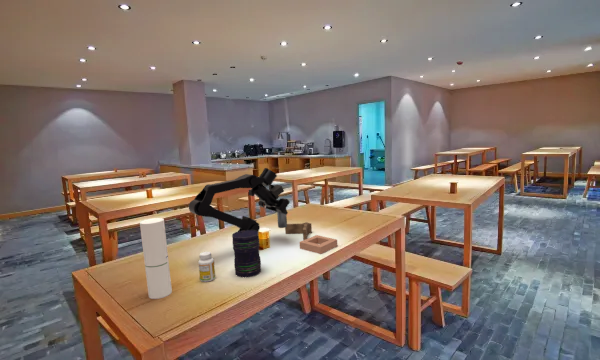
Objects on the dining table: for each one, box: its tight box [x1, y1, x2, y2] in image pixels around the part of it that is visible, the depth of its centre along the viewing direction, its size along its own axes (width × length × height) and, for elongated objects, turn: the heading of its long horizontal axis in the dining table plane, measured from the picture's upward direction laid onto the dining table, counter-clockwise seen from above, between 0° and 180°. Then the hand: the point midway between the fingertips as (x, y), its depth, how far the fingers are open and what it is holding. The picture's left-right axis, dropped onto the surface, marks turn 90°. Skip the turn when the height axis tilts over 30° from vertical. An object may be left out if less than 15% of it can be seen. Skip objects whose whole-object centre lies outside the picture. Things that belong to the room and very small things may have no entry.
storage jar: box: [231, 230, 262, 279], centre depth 119 cm, size 10×10×15 cm
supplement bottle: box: [197, 251, 216, 283], centre depth 115 cm, size 5×5×10 cm
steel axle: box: [276, 212, 288, 229], centre depth 154 cm, size 4×4×13 cm
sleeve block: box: [299, 234, 338, 255], centre depth 143 cm, size 12×12×3 cm
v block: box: [284, 221, 313, 241], centre depth 163 cm, size 10×16×5 cm, turn 40°
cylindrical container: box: [139, 217, 173, 300], centre depth 105 cm, size 7×7×25 cm
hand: (284, 212), depth 155 cm, fingers closed on steel axle, 4 cm apart
